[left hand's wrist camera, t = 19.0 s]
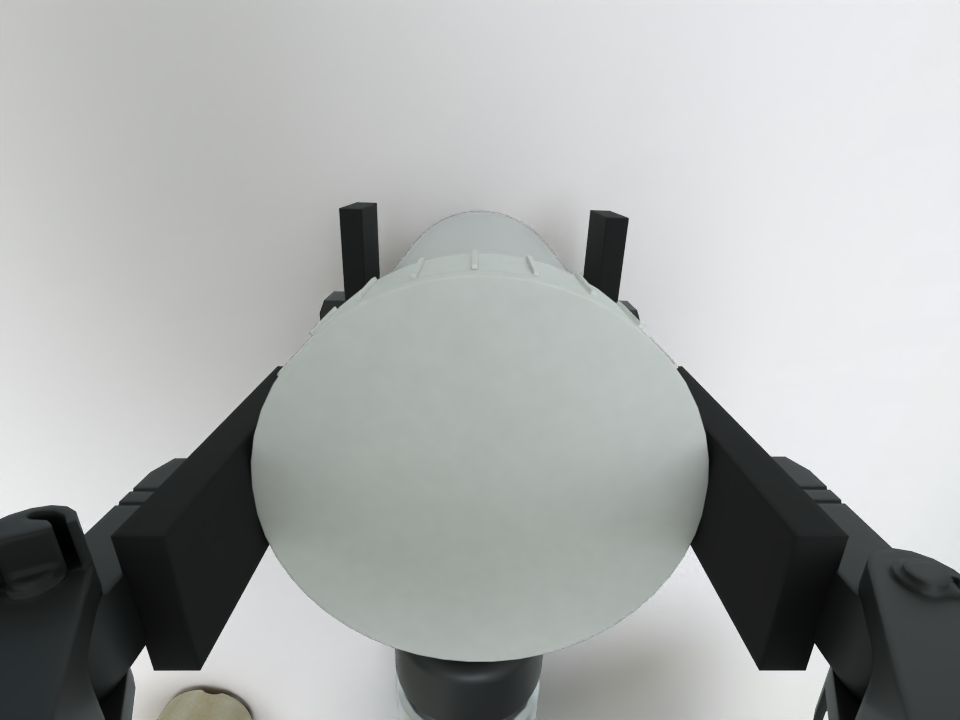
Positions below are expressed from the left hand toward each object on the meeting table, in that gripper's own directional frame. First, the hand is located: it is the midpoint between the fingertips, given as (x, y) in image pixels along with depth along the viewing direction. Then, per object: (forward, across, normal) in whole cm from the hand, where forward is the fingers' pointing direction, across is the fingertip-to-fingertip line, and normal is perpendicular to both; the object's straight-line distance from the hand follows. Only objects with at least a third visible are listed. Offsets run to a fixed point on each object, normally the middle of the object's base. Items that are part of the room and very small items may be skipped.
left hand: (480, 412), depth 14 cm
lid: (-4, 0, 0) cm, 4 cm away
